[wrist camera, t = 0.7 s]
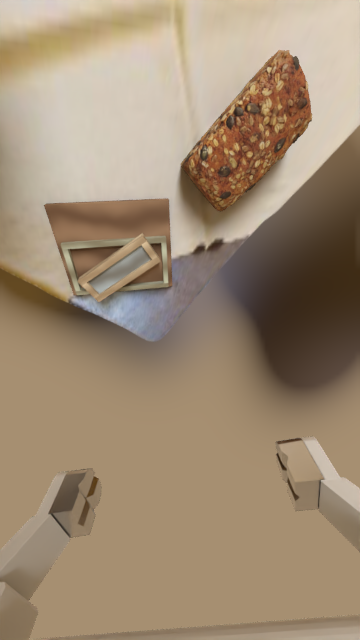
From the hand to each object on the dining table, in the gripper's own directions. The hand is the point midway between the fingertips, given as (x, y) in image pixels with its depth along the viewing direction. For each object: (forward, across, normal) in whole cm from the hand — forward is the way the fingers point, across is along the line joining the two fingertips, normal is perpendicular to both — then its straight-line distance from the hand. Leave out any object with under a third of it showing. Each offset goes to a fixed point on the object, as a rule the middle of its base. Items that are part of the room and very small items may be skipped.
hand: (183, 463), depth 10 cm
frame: (+41, +12, -3) cm, 43 cm away
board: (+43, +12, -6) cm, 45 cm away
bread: (+44, -14, -19) cm, 50 cm away
